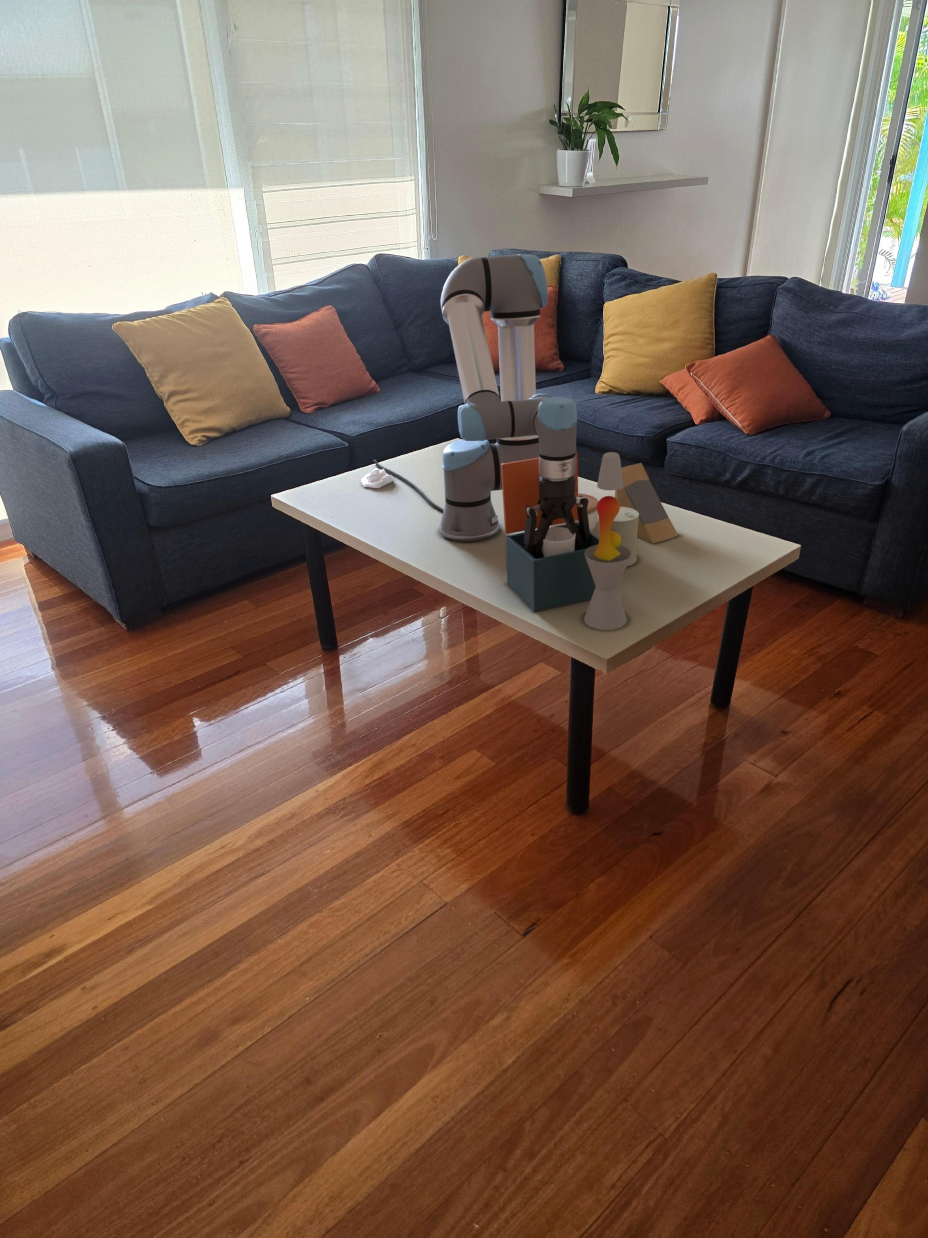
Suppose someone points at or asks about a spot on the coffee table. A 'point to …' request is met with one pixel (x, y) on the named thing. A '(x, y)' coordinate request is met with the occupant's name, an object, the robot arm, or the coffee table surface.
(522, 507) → the lid
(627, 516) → the can
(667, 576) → the coffee table surface
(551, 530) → the white cup
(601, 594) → the lava lamp
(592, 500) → the lidded bowl
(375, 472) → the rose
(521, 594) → the container
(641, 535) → the sandwich container
